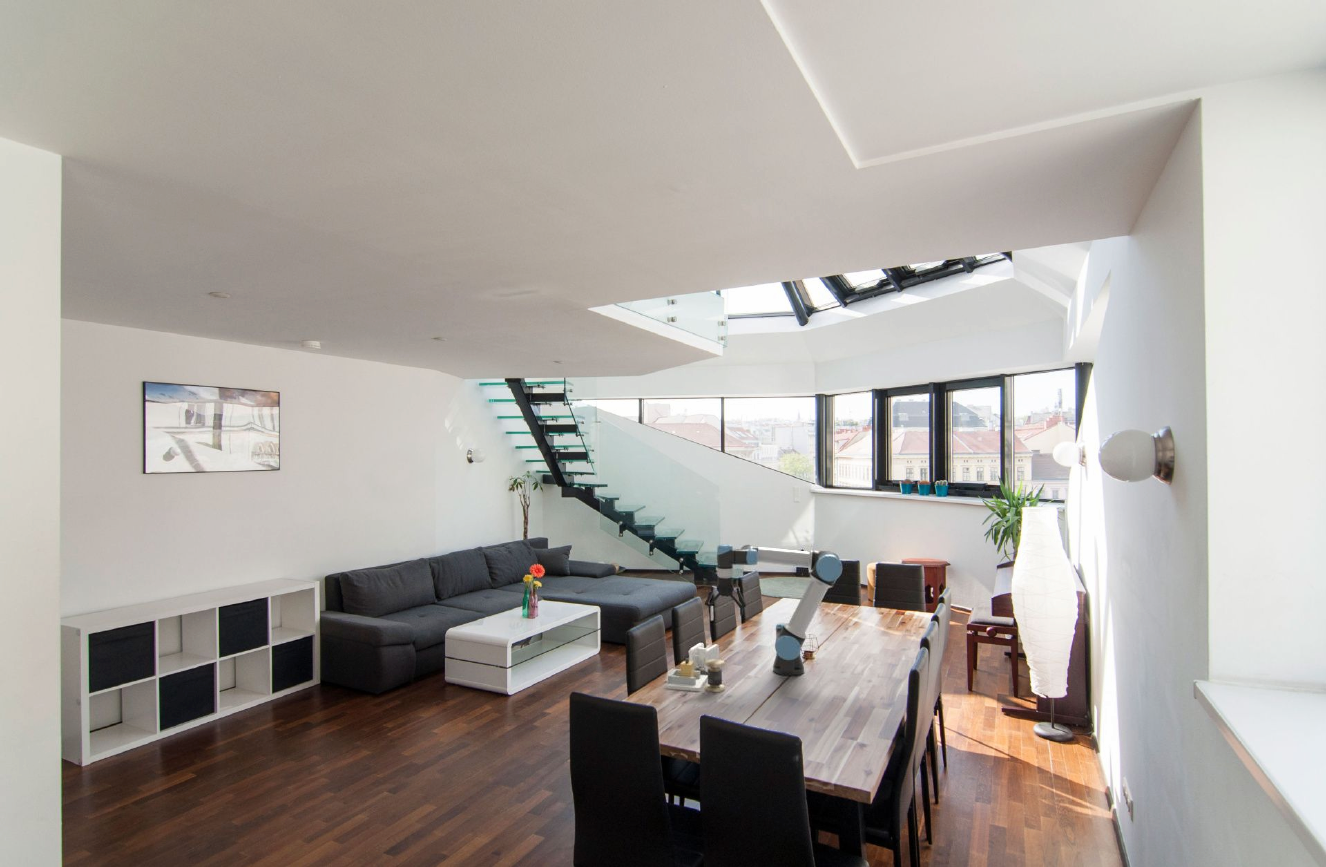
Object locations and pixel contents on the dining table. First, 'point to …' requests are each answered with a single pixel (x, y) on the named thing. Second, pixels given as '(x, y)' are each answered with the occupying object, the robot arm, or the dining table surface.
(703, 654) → the cable organizer
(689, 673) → the yellow bottle
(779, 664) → the robot arm
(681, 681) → the grey square tray
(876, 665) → the dining table surface
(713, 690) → the bobbin
